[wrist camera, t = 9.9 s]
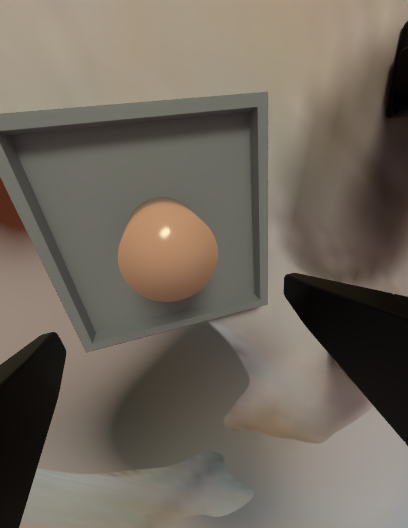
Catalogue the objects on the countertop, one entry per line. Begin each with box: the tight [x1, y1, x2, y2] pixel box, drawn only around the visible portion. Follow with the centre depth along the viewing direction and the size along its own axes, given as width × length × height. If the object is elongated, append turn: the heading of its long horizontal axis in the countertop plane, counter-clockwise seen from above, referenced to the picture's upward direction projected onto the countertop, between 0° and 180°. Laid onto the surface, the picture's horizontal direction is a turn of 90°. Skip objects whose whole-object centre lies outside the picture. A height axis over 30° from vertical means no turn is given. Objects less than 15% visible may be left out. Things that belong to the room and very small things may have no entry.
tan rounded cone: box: [118, 197, 218, 302], centre depth 16 cm, size 6×6×6 cm
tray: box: [0, 92, 268, 352], centre depth 18 cm, size 18×18×2 cm
